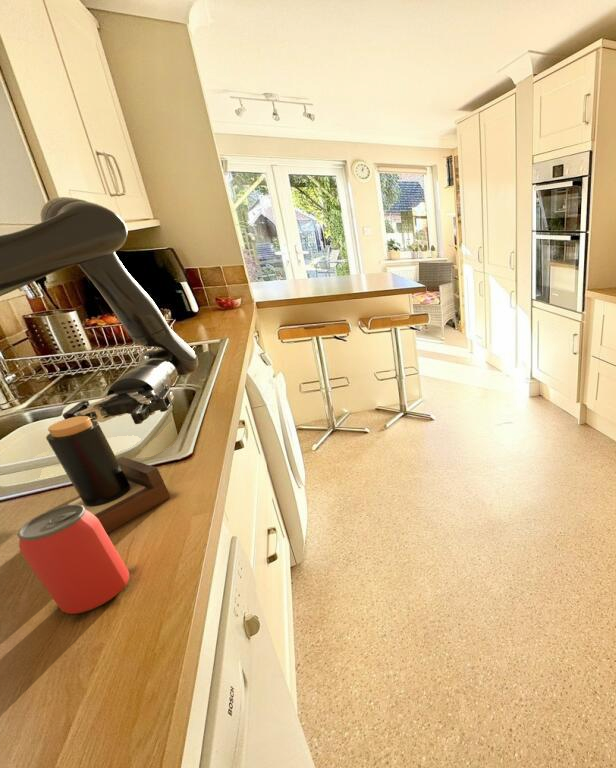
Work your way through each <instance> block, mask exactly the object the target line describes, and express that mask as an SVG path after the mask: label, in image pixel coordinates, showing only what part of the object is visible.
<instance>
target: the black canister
mask: <svg viewBox="0 0 616 768" xmlns="http://www.w3.org/2000/svg"><path fill="white" fill-rule="evenodd" d="M90 419H91V418H90V416H89V417H88V416H78V417H72V418H68V419H61V420H60V421H57V422H55V423H52V424H51V425H50V426H49V427H47V430H48V432H49V433H48V434H47V435H46V436H45V439H46V441H47V442H48V444H49V446H50V448H51V450H52V451H53V453H54V455H55V457H56V459H57V460H58V462H59V463H60V465H61V466H62V468H63V471H64V472H65V473H66V476H67V477H68V478H69V480H70V483H71V484H72V485H73V487H74V490H75V491H76V492H77V494H78V496H80V498H81V499H82V501H83V503H84V504H85V505H86V506H99V505H103V504H106V503H109V502H112V501H114V500H116V499H118V498H120V497H122V496H123V495H125V494H126V493H127V492H128V491H129V490H130V487H131V486H130V484H129V482H128V480H127V478H126V476H125V474H124V472H123V471H122V469H121V467H120V465H119V463H118V461H117V459H118V458H117V457H116V455H115V453H114V451H113V450H112V447H111V445H110V443H109V441H108V439H107V438H106V436H105V434H104V431H103V430H102V428H101V426H100V424H99V422H96V421H91V420H90Z"/></svg>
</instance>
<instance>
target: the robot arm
mask: <svg viewBox="0 0 616 768" xmlns="http://www.w3.org/2000/svg"><path fill="white" fill-rule="evenodd" d="M40 221H41V222H39V223H37V224H34V225H32V226H30V227H27V228H24V229H22V230H18V231H15V232H10V233H7V234H2V235H0V297H2V296H4V295H7V294H10V293H12V292H14V291H16V290H18V289H21V288H23V287H25V286H28V285H29V284H32V283H34V282H36V281H38V280H40V279H42V278H44V277H47V276H49V275H52V274H54V273H56V272H59V271H61V270H64V269H68V268H70V267H75V266H78V267H79V268H80V269H81V270H82V272H83V273H84V274H85V275H86V276H87V277H88V279H89V280H90V281H91V282H92V284H93V285H94V287H95V288H96V289H97V290H98V291H99V293H100V294H101V296H102V297H103V299H104V300H105V302H106V303H107V304H108V306H109V307H110V309H111V310H112V312H113V313H114V315H115V316H116V318H117V319H118V321H119V322H120V324H121V325H122V327H123V328H124V330H125V331H126V333H127V334H128V336H129V337H130V338H131V340H132V342H134V343H135V344H136V345H137V346H141V347H147V348H148V347H150V348H154V349H149V350H146V351H144V352H142V353H141V354H140V355H139V357H138V363H137V365H136V366H135V367H134V368H132V369H130V370H128V371H127V372H126V373H124V374H123V375H122V376H120V378H118V379H117V380H116V381H114V382H113V383H112V384H111V385H110V387H108V390H107V393H106V396H105V397H104V398H101V399H100V400H98V401H95V402H92V403H90V402H89V400H82V401H80V402H78V403H77V404H76V405H74V406H73V407H71V408H69V409H68V410H66V412H64V413H63V414H62V417H63V420H65V419H68V418H72V417H78V416H88V417H89V418H90V417H92V418H90V420H91V421H96V422H98V423H104V422H107V421H109V420H111V419H113V418H117V417H122V416H124V415H127V414H129V415H130V417H131V419H132V422H133V423H134V425H139V424H143V422H144V421H145V420H147V419H148V418H149V417H150V416H153V415H155V414H156V412H158V411H159V412H161V413H164V412H167V411H168V410H169V409H170V408H171V407H172V405H173V403H174V401H176V398H175V397H174V394H173V391H172V389H171V387H173V385H174V384H175V383H176V381H177V380H178V377H179V376H187V375H191V374H193V373H194V372H196V371H197V369H198V367H199V359H198V355H197V354H196V352H195V351H194V349H193V348H192V347H191V346H190V345H189V344H187V342H185V341H184V340H183V339H182V338H181V337H180V336H179V335H178V334H177V333H176V332H175V331H174V330H173V329H172V328H171V327H170V326H169V324H168V322H167V321H166V319H165V317H164V316H163V313H162V312H161V310H160V309H159V307H158V306H157V304H156V303H155V301H154V300H153V299H152V298H151V296H150V295H149V294H148V293H147V291H145V290H144V288H143V287H142V285H140V284H139V283H138V282H137V280H135V278H134V277H133V276H132V275H131V274H130V273H129V272H128V270H127V268H125V266H124V265H123V263H122V261H121V260H120V259H119V257H118V255H117V254H116V253H117V251H118V250H120V249H121V248H122V247H123V246H124V245H125V243H126V241H127V238H128V227H127V225H126V223H125V221H124V220H123V219H122V217H121V216H120V215H119V214H117V213H116V212H115V211H112V210H111V209H109V208H107V207H105V206H103V205H100V204H98V203H94V202H90V201H87V200H84V199H81V198H75V197H70V196H62V197H61V196H59V197H54V198H51V199H50V200H48V201H47V202H46V203H44V205H43V206H42V208H41V210H40ZM102 413H103V414H105V415H103V414H102Z"/></svg>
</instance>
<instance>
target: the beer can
mask: <svg viewBox="0 0 616 768" xmlns="http://www.w3.org/2000/svg"><path fill="white" fill-rule="evenodd" d="M52 509H53V508H52ZM49 510H50V509H49ZM47 511H48V510H47ZM47 511H44V513H41V514H39V515H37V516H35V517H34V518H31V519H30V520H29V521H27V522H26V523H25V524H23V525H22V526H21V527H20V528H19V529H18V532H17V534H16V535H17V537H18V539H19V540H18V541H19V542H18V547H19V551H20V553H21V556H22V557H23V559H24V560H25V562H27V564H28V565H29V567H30V568H31V569H32V571H33V573H34V574H35V575H36V577H37V578H38V579H39V581H40V582H41V584H42V585H43V586H44V588H45V590H46V591H47V593H48V594H49V595H50V596H51V597H52V599H53V601H54V603H56V605H57V607H58V608H59V609H60V611H61V612H63V613H67V614H70V615H73V614H75V615H76V614H83V613H85V612H86V613H87V612H89V611H92V610H94V609H96V608H99V607H101V606H102V605H105V604H106V603H108V602H109V601H111V600H112V599H114V598H115V597H116V596H117V595H119V594H120V593H121V592H122V591H123V589H124V588H125V587H126V586H127V584H128V582H129V580H130V572H129V570H128V568H127V566H126V564H125V562H124V561H123V559H122V558H121V555H120V553H119V552H118V550H117V549H116V547H115V545H114V543H113V542H112V540H111V538H110V536H109V535H108V533H106V532H105V530H104V528H103V526H102V525H101V523H100V521H99V520H98V519H97V517H96V516H94V515H93V514H92V513H91V512H89V511H87V510H85V508H84V507H83V506H82V505H67V506H63V507H59V508H56V509H53V510H50V511H48V512H47Z"/></svg>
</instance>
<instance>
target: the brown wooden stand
mask: <svg viewBox="0 0 616 768" xmlns="http://www.w3.org/2000/svg"><path fill="white" fill-rule="evenodd" d="M116 459H117V461H118V463H119V465H120V467H121V469H122V471H123V472H124V474H125V476H126V478H127V480H128V482H129V484H130V486H131V487H130V490H129V491H128V492H127V493H126V494H125V495H123V496H122V497H120V498H118V499H116V500H114V501H112V502H109V503H106V504H103V505H99V506H86V505H85V504H84V503H83V501H82V499H81V498H80V496H79V495H77V496H75V497H73V498H71V499H69V500H67V501H65V502H63V503H61V504H59V505H57V506H55V507H53V508H51V509H48V510H47V511H46V512H48V511H50V510H53V509H56V508H59V507H63V506H67V505H82V506H83V507H84V508H85V510H87V511H89V512H91V513H92V514H93V515H94V516H96V517H97V519H98V520H99V521H100V523H101V525H102V526H103V528H104V530H105V532H106V533H107V534H109V533H110V532H112V531H114V530H116V529H118V528H119V527H122V526H123V525H124V524H126V523H128V522H130V521H132V520H133V519H135V518H137V517H138V516H139V517H140V516H141V515H142V514H144V513H146V512H147V511H149V510H151V509H153V508H154V507H156V506H158V505H160V504H161V503H163V502H166V501H168V499H170V498H171V494H170V492H169V490H168V488H167V486H166V483H165V481H164V478H163V477H162V475H161V472H160V471H159V468H158V467H156V466H153V465H149V464H146V463H144V462H140V461H137V460H135V459H131V458H129V457H125V456H121V457H119V458H116Z"/></svg>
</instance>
